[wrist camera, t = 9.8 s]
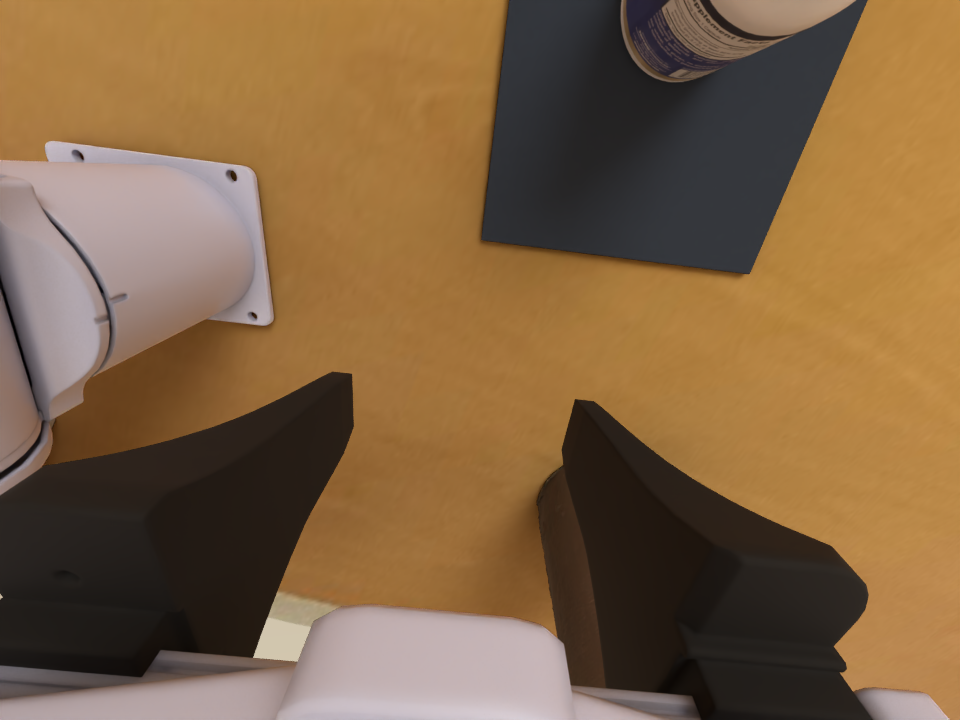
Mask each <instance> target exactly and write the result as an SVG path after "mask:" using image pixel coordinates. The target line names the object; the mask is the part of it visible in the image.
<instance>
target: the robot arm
mask: <svg viewBox="0 0 960 720" xmlns="http://www.w3.org/2000/svg"><path fill="white" fill-rule="evenodd" d="M45 152H46V155H47V158H48V161H49V162H46V161H13V160H0V594H1V595H2V596H3V598H1V600H0V720H949V719H948V717H947V716H946V715H945V714H944V713H943V711H942V710H941V709H940V708H939V707H938V706H937V704H936V703H935V702H934V701H933V700H932V698H931V697H930V696H929V695H928V694H925V693H923V692H920V691H909V690H898V689H887V688H876V687H872V688H863V689H859V690H856V691H854V692H853V691H852V690H851V688H850V687H849V685H848V684H847V683H846V681H845V680H844V678H843V677H842V676H841V674H840V673H839V672H844V671H845V670H846V669H847V667H846V663H845V661H844V660H843V659H842V657H841V656H840V655H839V653H838V652H837V651H836V649H835V648H834V645H835V644H836V643H837V642H838V641H839V640H840V639H841V638H842V637H843V636H844V634H845V633H846V632H847V631H848V630H849V629H850V628H851V627H852V626H853V625H854V624H855V623H856V621H857V620H858V619H859V618H860V616H861V615H862V613H863V612H864V611H865V608H866V604H867V600H868V595H869V594H868V590H867V586H866V584H865V583H864V582H863V580H862V579H861V578H860V577H859V576H858V575H857V574H856V573H855V572H854V570H853V569H852V568H851V567H850V566H849V565H848V564H847V563H846V562H845V560H844V559H843V558H842V557H841V556H840V555H839V554H838V553H837V552H836V550H835V549H834V548H833V547H832V546H830V545H828V544H825V543H823V542H820V541H818V540H816V539H813V538H811V537H808V536H806V535H804V534H801V533H799V532H796V531H794V530H792V529H789V528H787V527H784V526H782V525H780V524H777V523H775V522H773V521H771V520H769V519H767V518H765V517H762V516H760V515H758V514H756V513H754V512H752V511H750V510H748V509H746V508H744V507H742V506H740V505H738V504H736V503H734V502H732V501H730V500H728V499H727V498H725V497H723V496H721V495H720V494H718V493H716V492H714V491H712V490H711V489H709V488H707V487H705V486H704V485H702V484H700V483H699V482H697V481H696V480H694V479H692V478H691V477H689V476H688V475H686V474H685V473H683V472H682V471H680V470H679V469H677V468H676V467H674V466H673V465H671V464H670V463H668V462H667V461H666V460H664V459H663V458H662V457H660V456H659V455H658V454H656V453H655V452H654V451H652V450H651V449H650V448H649V447H647V446H646V445H645V444H644V443H642V442H641V441H640V440H639V439H637V438H636V437H635V436H634V435H633V434H632V433H630V432H629V431H628V430H627V429H626V428H625V427H623V426H622V425H621V424H620V423H619V422H618V421H617V420H615V419H614V418H613V417H612V416H611V415H610V414H609V413H608V412H606V411H605V410H604V409H603V408H602V407H601V406H599V405H598V404H597V403H595V402H594V401H586V400H577V399H575V402H574V405H573V409H572V413H571V417H570V420H569V424H568V428H567V432H566V435H565V439H564V443H563V446H562V456H563V464H564V471H565V477H566V481H567V485H568V488H569V492H570V495H571V499H572V502H573V506H574V509H575V513H576V516H577V520H578V523H579V527H580V530H581V534H582V537H583V541H584V545H585V549H586V554H587V559H588V565H589V571H590V576H591V582H592V588H593V595H594V601H595V608H596V614H597V621H598V628H599V636H600V644H601V652H602V659H603V668H604V677H605V686H606V689H605V688H594V687H582V686H571V685H570V679H569V673H568V667H567V660H566V654H565V648H564V644H563V643H562V642H561V641H560V640H559V639H558V638H556V637H555V636H554V635H553V634H552V633H551V632H549V631H548V630H547V629H546V628H545V627H543V626H542V625H541V624H538V623H534V622H530V621H526V620H523V619H519V618H515V617H508V616H497V615H486V614H476V613H465V612H454V611H443V610H432V609H422V608H411V607H400V606H389V605H378V604H362V605H348V606H341V607H339V608H337V609H335V610H333V611H331V612H330V613H328V614H326V615H324V616H322V617H320V618H318V619H317V620H315V621H313V624H312V626H311V629H310V632H309V634H308V637H307V639H306V642H305V644H304V647H303V649H302V652H301V654H300V657H299V660H298V662H294V661H283V660H270V659H259V658H253V656H254V653H255V650H256V647H257V645H258V642H259V639H260V636H261V633H262V630H263V628H264V625H265V622H266V619H267V617H268V614H269V612H270V609H271V606H272V604H273V601H274V599H275V596H276V593H277V591H278V588H279V586H280V583H281V581H282V578H283V576H284V573H285V571H286V568H287V566H288V563H289V561H290V558H291V556H292V553H293V551H294V549H295V546H296V544H297V542H298V539H299V537H300V535H301V532H302V530H303V528H304V525H305V523H306V521H307V519H308V517H309V515H310V513H311V511H312V510H313V508H314V506H315V504H316V502H317V501H318V499H319V497H320V495H321V493H322V492H323V490H324V488H325V486H326V484H327V483H328V481H329V479H330V477H331V476H332V474H333V472H334V470H335V468H336V466H337V465H338V463H339V461H340V459H341V457H342V455H343V453H344V451H345V449H346V446H347V444H348V441H349V438H350V436H351V433H352V430H353V427H354V420H353V388H352V374H348V373H339V372H331V373H329V374H327V375H325V376H323V377H321V378H319V379H317V380H315V381H313V382H311V383H309V384H307V385H305V386H304V387H302V388H300V389H298V390H296V391H294V392H292V393H290V394H288V395H286V396H285V397H283V398H280V399H278V400H276V401H274V402H272V403H270V404H268V405H266V406H264V407H261V408H259V409H257V410H255V411H253V412H251V413H248V414H246V415H243V416H241V417H239V418H236V419H233V420H231V421H228V422H225V423H223V424H220V425H217V426H214V427H212V428H209V429H205V430H202V431H199V432H196V433H192V434H189V435H186V436H183V437H179V438H176V439H173V440H169V441H165V442H161V443H158V444H154V445H150V446H146V447H141V448H137V449H133V450H128V451H124V452H119V453H114V454H109V455H104V456H99V457H93V458H87V459H82V460H76V461H70V462H65V463H59V464H53V465H46V466H43V464H44V463H45V461H46V459H47V458H48V456H49V454H50V451H51V448H52V444H53V436H52V430H51V427H50V424H49V421H51V420H52V419H54V418H56V417H58V416H60V415H61V414H63V413H65V412H67V411H68V410H70V409H72V408H74V407H76V406H77V405H79V404H81V403H83V402H84V397H83V389H84V385H85V383H86V381H87V380H88V379H89V378H91V377H93V376H95V375H97V374H99V373H101V372H103V371H105V370H107V369H109V368H111V367H113V366H115V365H117V364H119V363H121V362H123V361H125V360H127V359H129V358H131V357H133V356H134V355H136V354H138V353H140V352H142V351H144V350H146V349H148V348H150V347H152V346H154V345H156V344H158V343H160V342H162V341H164V340H166V339H168V338H170V337H172V336H174V335H176V334H178V333H180V332H182V331H183V330H185V329H187V328H189V327H191V326H193V325H195V324H197V323H199V322H201V321H203V320H205V319H209V320H218V321H226V322H235V323H244V324H252V325H261V326H267V325H269V324H270V323H272V322H273V320H274V313H273V305H272V297H271V288H270V280H269V272H268V264H267V256H266V248H265V240H264V232H263V224H262V216H261V208H260V200H259V192H258V183H257V177H256V174H255V173H254V171H253V170H252V169H251V168H249V167H247V166H242V165H235V164H227V163H219V162H212V161H204V160H196V159H189V158H181V157H174V156H166V155H158V154H151V153H143V152H135V151H128V150H120V149H113V148H105V147H97V146H90V145H82V144H74V143H67V142H59V141H48V142H47V143H46V145H45ZM80 152H81V153H82V155H83V156H84V161H83V160H82V158H81V157H80ZM232 171H234V172H235V173H236V175H237V180H236V181H234V180H233V179H232V178H231V172H232ZM252 312H253V313H255V314H256V315H257V319H256V318H254V317H253V316H252V314H251V313H252ZM42 466H43V467H42ZM41 467H42V468H41Z"/></svg>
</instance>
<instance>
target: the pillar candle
mask: <svg viewBox="0 0 960 720" xmlns="http://www.w3.org/2000/svg"><path fill="white" fill-rule="evenodd" d="M537 506H538V511H539V525H540V527H539V528H540V533H541V540H542V545H543V549H544V558H545V564H546V571H547V575H548V583H549V590H550V595H551V598H552V604H553V611H554V618H555V624H556V630H557V636H558V639H559V640H560V641H561V642H562V643H563V644H564V648H565V654H566V660H567V667H568V673H569V679H570V685H571V686H582V687H594V688H605V689H606V686H605V677H604V668H603V659H602V652H601V644H600V636H599V628H598V621H597V614H596V608H595V601H594V595H593V588H592V582H591V576H590V571H589V565H588V559H587V554H586V549H585V545H584V541H583V537H582V534H581V530H580V527H579V523H578V520H577V516H576V513H575V509H574V506H573V502H572V499H571V495H570V492H569V488H568V485H567V481H566V477H565V471H564V466H563V467H562V466H561V467H560V469H559V470H557V471H556V472H555V473H553V475H552V476H551V477H550V478H549V479H548V480H547V481H546V483H545V485H544V486H543V487H542V490H541V492H540V493H539V496H538V500H537Z"/></svg>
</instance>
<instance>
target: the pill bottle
mask: <svg viewBox="0 0 960 720" xmlns="http://www.w3.org/2000/svg"><path fill="white" fill-rule="evenodd" d="M854 1H856V0H622V1H621V27H622V33H623V38H624V41H625V44H626V47H627V49H628V51H629V53H630V55H631V57H632V59H633V60H634V61H635V63H636V64H637V65H638V66H639V67H640V68H641V69H642V70H643V71H644V72H646V73H647V74H648V75H650V76H652V77H654V78H656V79H659V80H662V81H667V82H684V81H689V80H693V79H696V78H699V77H702V76H704V75H707V74H709V73H712V72H714V71H716V70H718V69H720V68H723V67H725V66H727V65H729V64H731V63H734V62H736V61H738V60H740V59H743V58H745V57H747V56H749V55H751V54H754V53H756V52H758V51H760V50H762V49H764V48H767V47H769V46H771V45H773V44H775V43H777V42H780V41H782V40H784V39H786V38H789V37H790V36H793V35H795V34H797V33H799V32H802V31H805V30H807V29H809V28H810V27H812V26H814V25H816V24H818V23H820V22H822V21H824V20H826V19H828V18H829V17H831V16H833V15H835V14H837V13H838V12H840V11H841V10H843V9H845V8H846V7H848V6H849V5H850V4H852V3H853V2H854Z"/></svg>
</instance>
